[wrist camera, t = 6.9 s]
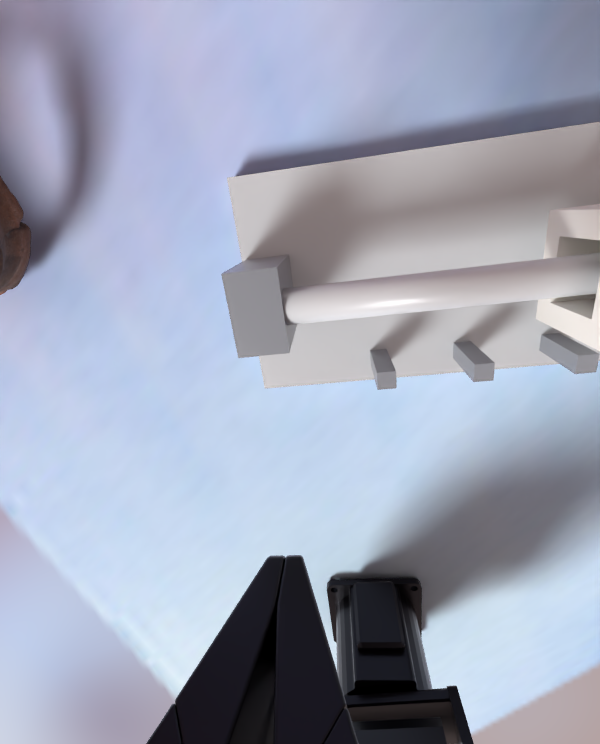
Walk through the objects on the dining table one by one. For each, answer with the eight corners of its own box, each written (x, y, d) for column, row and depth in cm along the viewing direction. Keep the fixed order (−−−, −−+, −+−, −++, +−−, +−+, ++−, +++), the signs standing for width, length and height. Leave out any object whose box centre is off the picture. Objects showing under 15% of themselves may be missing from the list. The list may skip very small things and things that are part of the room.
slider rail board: (267, 380, 20) (240, 457, 14) (232, 179, 17) (173, 159, 10) (708, 342, 18) (920, 414, 12) (788, 96, 14) (1172, -1, 8)
